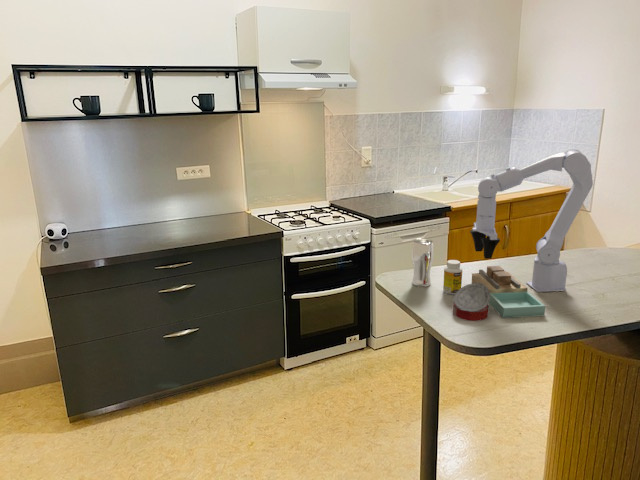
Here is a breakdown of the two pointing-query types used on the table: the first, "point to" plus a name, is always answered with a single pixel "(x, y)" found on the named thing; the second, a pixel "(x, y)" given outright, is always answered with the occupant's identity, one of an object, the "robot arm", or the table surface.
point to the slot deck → (496, 288)
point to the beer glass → (422, 261)
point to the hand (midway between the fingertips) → (483, 254)
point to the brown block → (493, 270)
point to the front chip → (502, 278)
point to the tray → (516, 304)
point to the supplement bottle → (452, 277)
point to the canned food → (472, 302)
